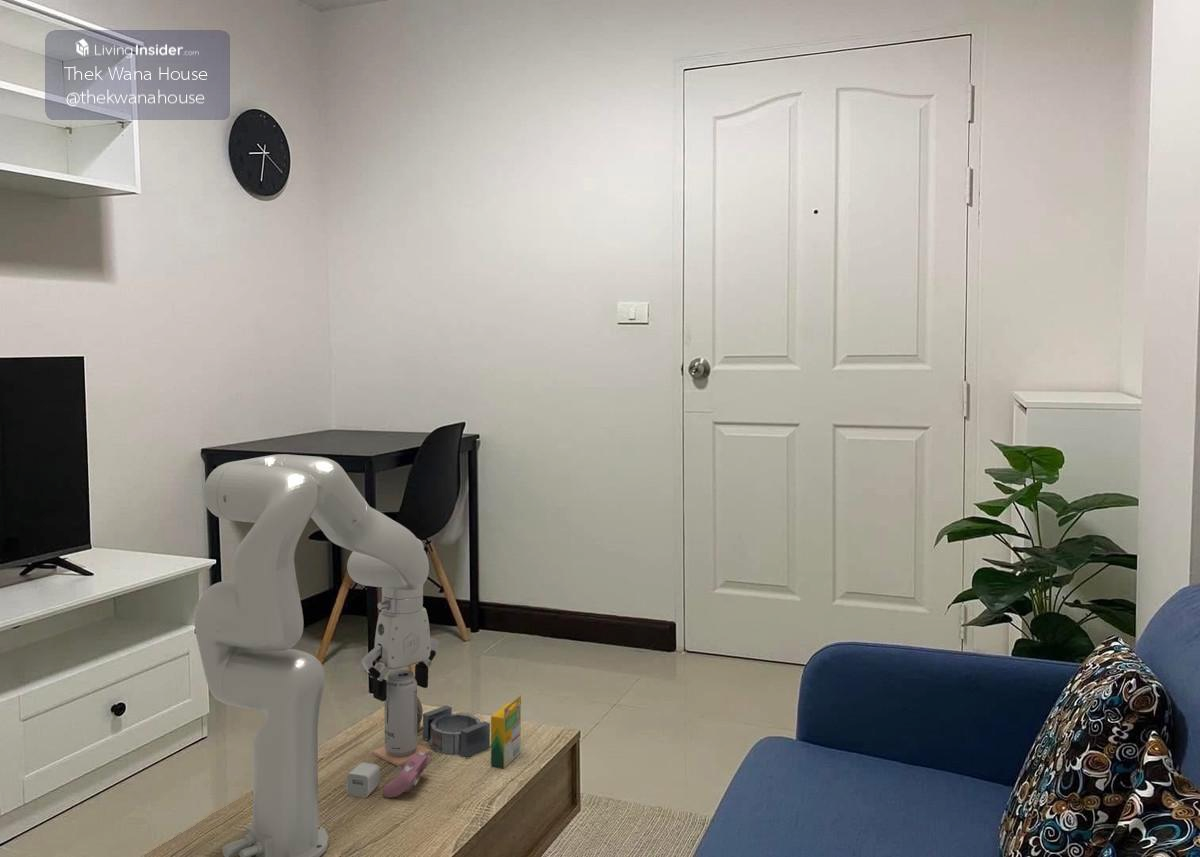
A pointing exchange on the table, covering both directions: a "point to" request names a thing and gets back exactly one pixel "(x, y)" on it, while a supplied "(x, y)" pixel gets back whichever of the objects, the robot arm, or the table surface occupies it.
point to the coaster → (399, 760)
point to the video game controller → (407, 775)
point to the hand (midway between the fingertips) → (400, 692)
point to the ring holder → (455, 732)
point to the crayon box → (506, 734)
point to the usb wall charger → (363, 779)
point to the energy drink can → (401, 713)
